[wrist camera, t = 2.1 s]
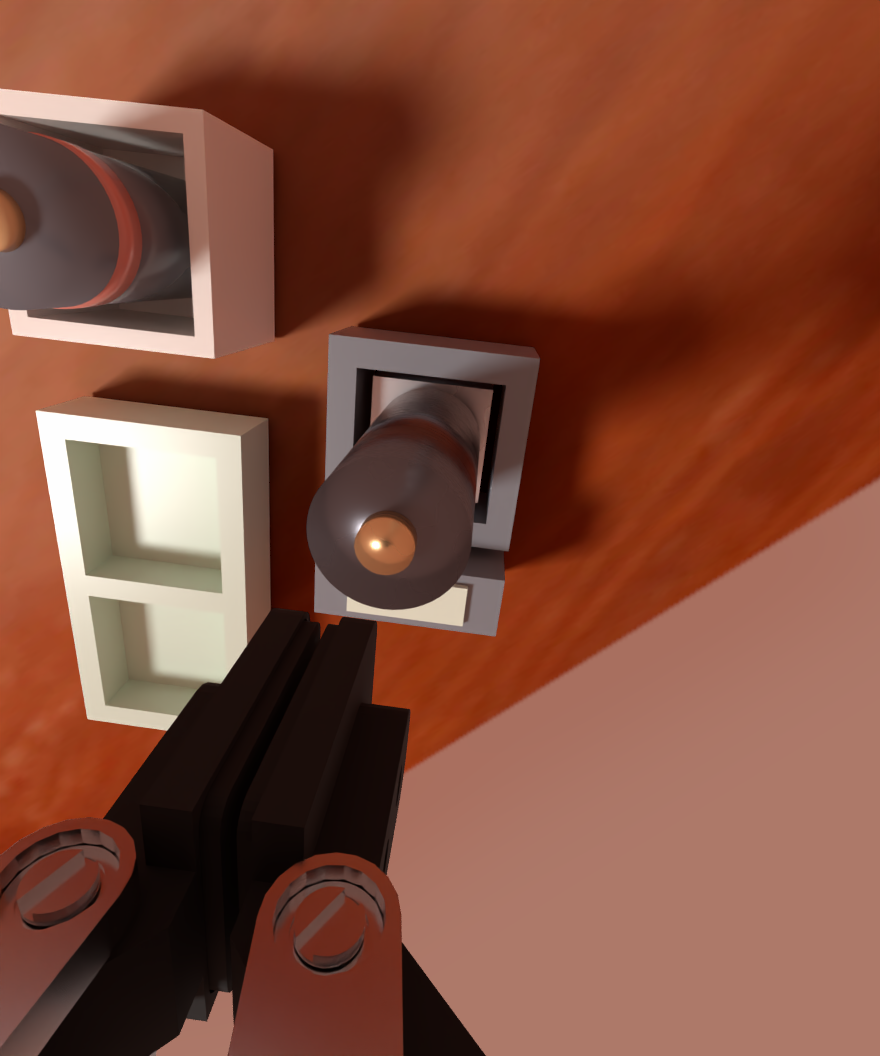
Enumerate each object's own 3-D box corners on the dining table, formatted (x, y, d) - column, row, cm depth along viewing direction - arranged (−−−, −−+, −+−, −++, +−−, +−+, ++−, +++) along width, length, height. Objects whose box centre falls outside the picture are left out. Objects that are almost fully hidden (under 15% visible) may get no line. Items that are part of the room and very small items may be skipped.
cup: (94, 130, 22) (-213, 19, 12) (273, 149, 21) (99, 50, 12) (114, 322, 24) (-124, 351, 15) (274, 340, 24) (133, 382, 15)
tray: (85, 396, 26) (35, 410, 23) (268, 418, 25) (240, 435, 22) (123, 680, 31) (87, 719, 29) (271, 701, 31) (250, 742, 28)
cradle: (351, 326, 23) (314, 339, 19) (534, 347, 23) (544, 366, 18) (342, 555, 27) (309, 615, 23) (497, 575, 27) (498, 640, 22)
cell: (378, 381, 22) (300, 453, 13) (486, 394, 22) (481, 476, 13) (372, 484, 23) (298, 611, 15) (473, 497, 23) (460, 632, 14)
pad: (380, 370, 23) (373, 375, 22) (493, 383, 23) (493, 390, 22) (373, 477, 25) (366, 488, 24) (478, 490, 25) (477, 502, 23)
